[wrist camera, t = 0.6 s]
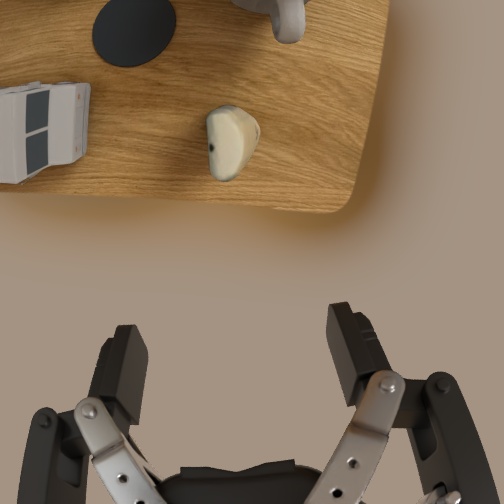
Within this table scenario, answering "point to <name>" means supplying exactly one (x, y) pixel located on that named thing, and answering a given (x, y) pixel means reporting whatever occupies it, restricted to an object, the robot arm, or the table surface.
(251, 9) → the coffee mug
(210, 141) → the cream rounded piece
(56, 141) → the toy vehicle
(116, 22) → the coaster
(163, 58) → the table surface
